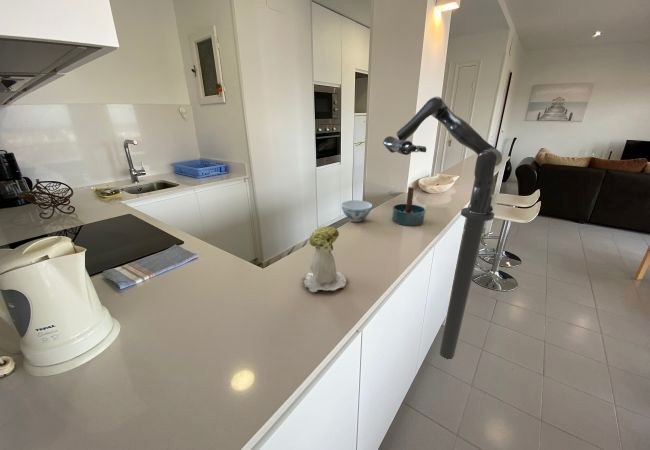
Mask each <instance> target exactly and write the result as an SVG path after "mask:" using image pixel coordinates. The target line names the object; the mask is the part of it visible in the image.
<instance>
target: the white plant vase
mask: <svg viewBox="0 0 650 450" xmlns="http://www.w3.org/2000/svg"><path fill="white" fill-rule="evenodd" d="M339 232H340V231H339V230H338V228H336V227H335V226H334V227H333V226H321V227H319V228H317V229H314V231H312V233H311V234H310V236H309V240H308V241H309V245H310V246H312V247H314V248H315V249H314V251H313V254H312V259H311V260H310V264H309V270H310V271H311V272H307V273H306V274H305V279H304V280H303V282H304V287H306V288H308V291H310V292H312V293H316V292H318V291H321V290H322V291H336V290H338V289H340V288H345V286H346V284H347V278H346V277H345V275H344V274H343V273H341V272H340V271H338V270H337V266H336V261H335V258H336V257H334V255H333V253H332V251H334V246H333V245H334V243H335V242H336V240H337V239H338V238H339V235H340V233H339Z"/></svg>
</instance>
